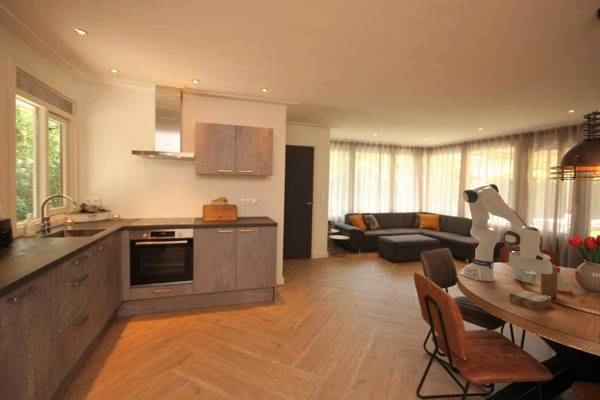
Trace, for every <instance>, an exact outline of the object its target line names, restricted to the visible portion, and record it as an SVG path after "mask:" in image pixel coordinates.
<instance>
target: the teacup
mask: <svg viewBox="0 0 600 400" xmlns="http://www.w3.org/2000/svg"><path fill="white" fill-rule="evenodd" d="M510 267H511V266H510ZM510 269H511V274H512V276H513V277H514V279H515V280H517V281H522V276H520V272H519V270H518V268H516V267H511V268H510ZM525 271H527V272H529V270H525V269H523V270H522V272H525Z"/></svg>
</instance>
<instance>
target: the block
mask: <svg viewBox="0 0 600 400" xmlns="http://www.w3.org/2000/svg"><path fill="white" fill-rule="evenodd" d="M557 267H558V266H557V265H556V264H554V263H552V268H553V272H552V273H551V274H549V275H548V274H543V273H541V274H540V295H541V294H543V295H547V296H551V297H556V298H557V296H558V293H557Z"/></svg>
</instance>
